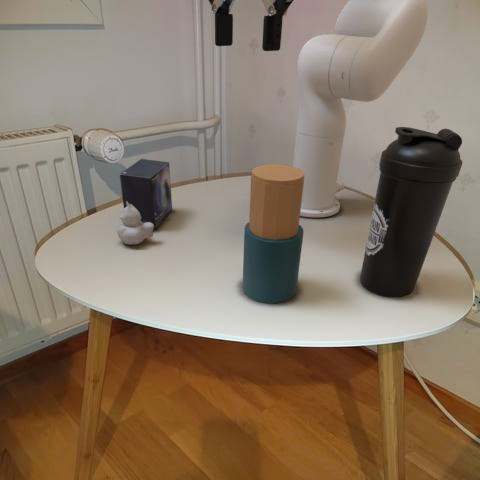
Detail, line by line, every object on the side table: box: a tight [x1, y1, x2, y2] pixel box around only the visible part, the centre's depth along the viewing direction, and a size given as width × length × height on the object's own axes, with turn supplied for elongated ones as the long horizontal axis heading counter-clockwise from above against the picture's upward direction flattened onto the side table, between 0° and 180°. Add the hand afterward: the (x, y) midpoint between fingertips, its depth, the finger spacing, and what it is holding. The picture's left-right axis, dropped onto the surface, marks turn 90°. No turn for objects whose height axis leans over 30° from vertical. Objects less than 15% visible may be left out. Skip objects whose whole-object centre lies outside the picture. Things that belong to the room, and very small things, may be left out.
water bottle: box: [359, 126, 463, 299], centre depth 61 cm, size 10×10×23 cm
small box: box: [119, 158, 173, 231], centre depth 82 cm, size 11×6×10 cm, turn 168°
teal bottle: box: [242, 221, 305, 304], centre depth 60 cm, size 8×8×16 cm
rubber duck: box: [116, 201, 154, 246], centre depth 74 cm, size 5×7×8 cm
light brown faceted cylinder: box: [248, 163, 304, 240], centre depth 57 cm, size 7×7×8 cm
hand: (246, 48), depth 62 cm, fingers open, 9 cm apart
